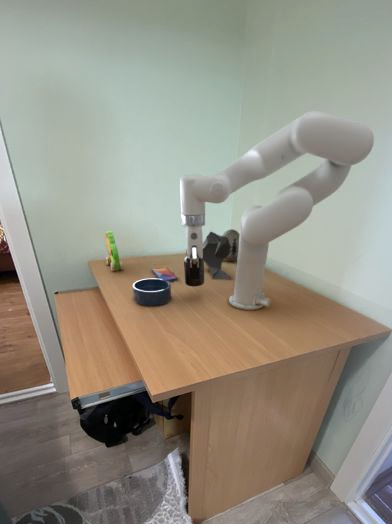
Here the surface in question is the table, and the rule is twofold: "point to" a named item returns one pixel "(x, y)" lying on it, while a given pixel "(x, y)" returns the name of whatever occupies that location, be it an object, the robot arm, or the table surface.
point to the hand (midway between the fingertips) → (194, 274)
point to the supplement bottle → (187, 272)
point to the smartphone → (164, 274)
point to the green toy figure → (112, 253)
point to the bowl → (152, 292)
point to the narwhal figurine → (216, 254)
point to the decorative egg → (232, 244)
